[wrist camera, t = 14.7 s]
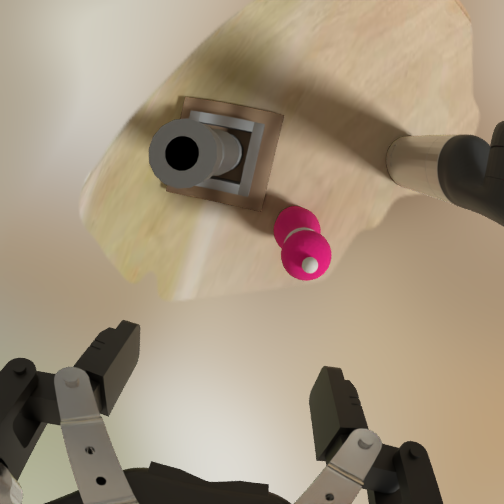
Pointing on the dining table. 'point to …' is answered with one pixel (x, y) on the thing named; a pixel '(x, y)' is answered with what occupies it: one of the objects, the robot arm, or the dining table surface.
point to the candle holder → (192, 153)
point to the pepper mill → (301, 243)
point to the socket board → (254, 152)
